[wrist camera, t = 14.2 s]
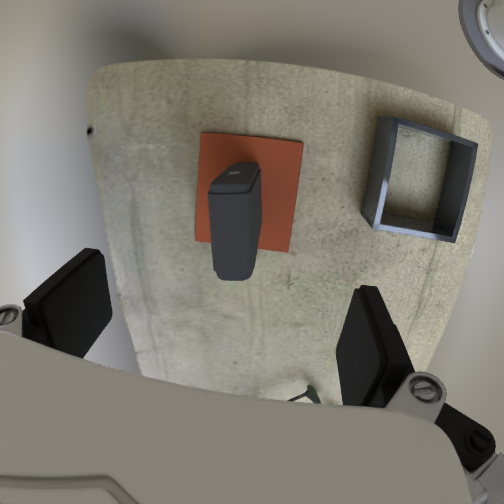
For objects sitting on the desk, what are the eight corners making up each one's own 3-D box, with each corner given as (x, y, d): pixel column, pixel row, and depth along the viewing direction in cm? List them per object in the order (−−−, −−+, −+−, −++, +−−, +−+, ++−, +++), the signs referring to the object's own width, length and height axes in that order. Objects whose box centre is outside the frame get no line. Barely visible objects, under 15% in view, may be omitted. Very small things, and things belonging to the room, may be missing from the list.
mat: (202, 132, 38) (201, 132, 37) (303, 142, 38) (303, 143, 37) (196, 238, 44) (195, 241, 44) (287, 250, 44) (287, 252, 43)
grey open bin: (377, 116, 35) (393, 116, 30) (455, 139, 35) (478, 143, 29) (360, 214, 41) (372, 229, 35) (436, 227, 40) (455, 243, 35)
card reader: (229, 159, 39) (201, 182, 25) (261, 158, 38) (250, 181, 25) (232, 227, 42) (209, 281, 29) (262, 227, 42) (253, 282, 28)
